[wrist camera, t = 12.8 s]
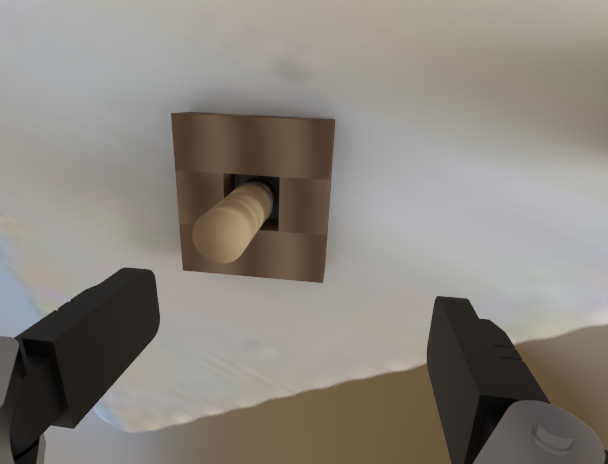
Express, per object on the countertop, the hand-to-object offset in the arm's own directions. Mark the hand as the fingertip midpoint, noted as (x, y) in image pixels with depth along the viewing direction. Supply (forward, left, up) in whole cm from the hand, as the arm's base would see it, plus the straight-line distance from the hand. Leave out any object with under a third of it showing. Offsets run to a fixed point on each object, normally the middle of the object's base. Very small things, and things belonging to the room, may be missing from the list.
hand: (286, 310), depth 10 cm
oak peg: (+7, +4, -29) cm, 30 cm away
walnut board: (+7, +4, -29) cm, 30 cm away
